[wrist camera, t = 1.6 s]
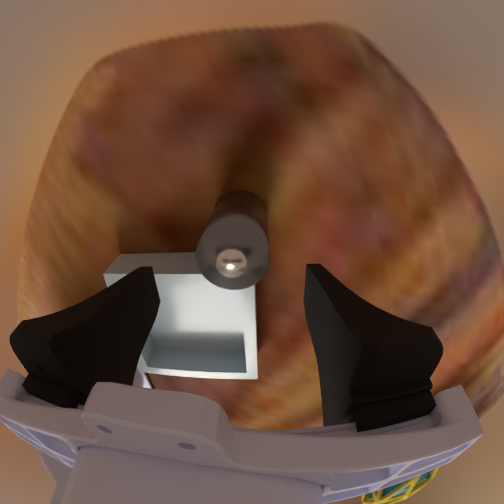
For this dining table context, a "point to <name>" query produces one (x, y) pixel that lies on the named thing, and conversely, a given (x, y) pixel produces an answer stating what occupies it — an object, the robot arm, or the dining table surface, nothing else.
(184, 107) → the dining table surface
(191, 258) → the dish
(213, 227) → the battery cell
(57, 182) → the dining table surface
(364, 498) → the decorative object
